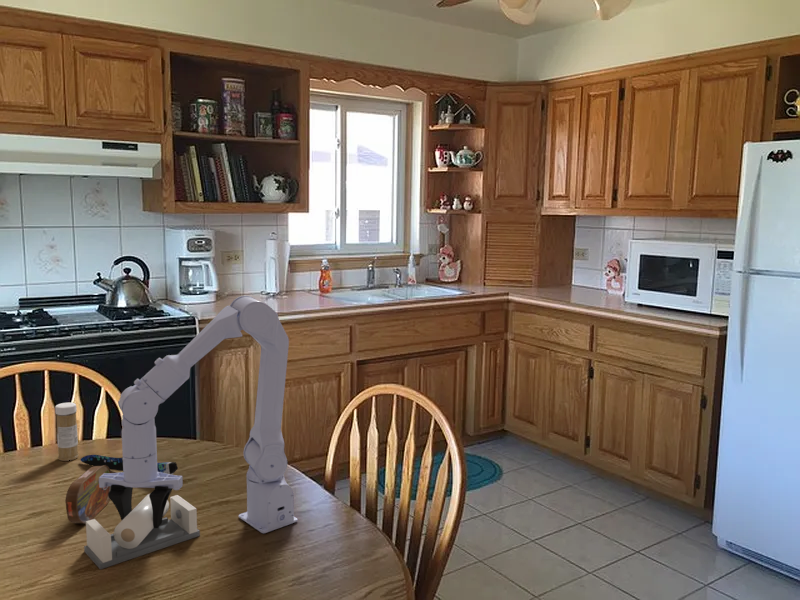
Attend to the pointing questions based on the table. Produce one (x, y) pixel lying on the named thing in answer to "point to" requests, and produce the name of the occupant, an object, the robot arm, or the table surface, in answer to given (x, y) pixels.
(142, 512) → the cylinder
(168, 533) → the holder
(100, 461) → the knife
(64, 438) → the sprinkles bottle
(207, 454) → the table surface
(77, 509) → the tin
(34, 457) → the table surface
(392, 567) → the table surface
